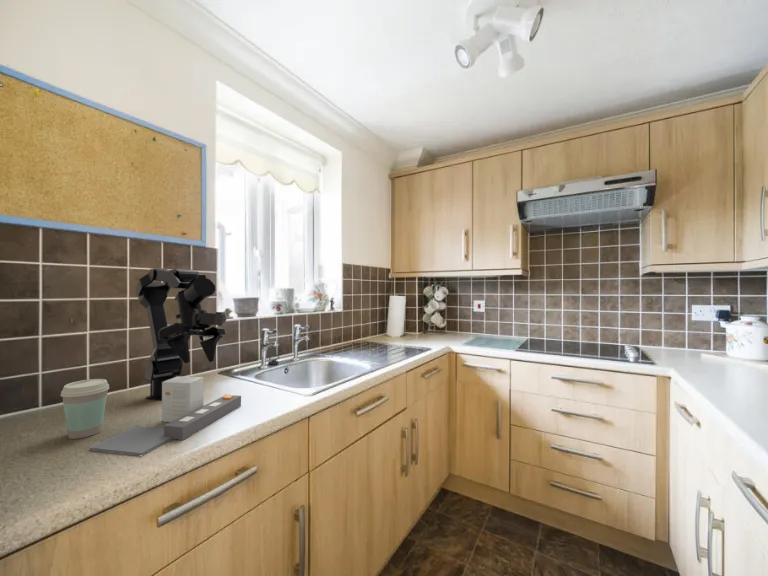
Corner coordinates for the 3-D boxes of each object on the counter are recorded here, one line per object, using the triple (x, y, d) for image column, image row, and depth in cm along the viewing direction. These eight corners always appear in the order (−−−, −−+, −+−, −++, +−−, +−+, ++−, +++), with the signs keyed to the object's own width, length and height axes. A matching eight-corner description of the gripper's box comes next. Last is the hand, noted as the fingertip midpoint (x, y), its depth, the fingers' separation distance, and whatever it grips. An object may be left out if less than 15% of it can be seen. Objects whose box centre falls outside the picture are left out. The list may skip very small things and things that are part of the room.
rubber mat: (89, 450, 68) (89, 447, 68) (136, 428, 79) (137, 425, 79) (141, 456, 66) (141, 453, 66) (183, 432, 77) (183, 430, 77)
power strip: (163, 438, 73) (164, 423, 73) (225, 404, 95) (225, 393, 95) (182, 440, 73) (183, 425, 73) (240, 405, 94) (241, 394, 94)
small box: (204, 415, 87) (204, 376, 87) (189, 423, 82) (190, 382, 82) (177, 413, 88) (177, 375, 88) (160, 421, 83) (161, 381, 83)
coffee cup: (104, 422, 82) (105, 376, 82) (112, 432, 76) (113, 382, 76) (57, 434, 75) (58, 383, 75) (62, 445, 70) (62, 391, 70)
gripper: (190, 294, 82) (201, 353, 78) (235, 304, 100) (245, 352, 96) (153, 309, 83) (162, 367, 79) (204, 316, 101) (213, 364, 97)
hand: (200, 362), depth 88 cm, fingers open, 9 cm apart
